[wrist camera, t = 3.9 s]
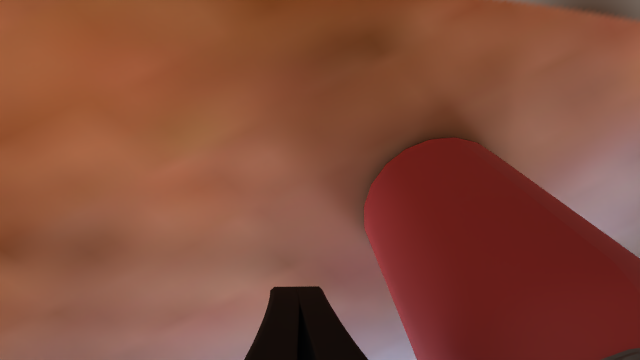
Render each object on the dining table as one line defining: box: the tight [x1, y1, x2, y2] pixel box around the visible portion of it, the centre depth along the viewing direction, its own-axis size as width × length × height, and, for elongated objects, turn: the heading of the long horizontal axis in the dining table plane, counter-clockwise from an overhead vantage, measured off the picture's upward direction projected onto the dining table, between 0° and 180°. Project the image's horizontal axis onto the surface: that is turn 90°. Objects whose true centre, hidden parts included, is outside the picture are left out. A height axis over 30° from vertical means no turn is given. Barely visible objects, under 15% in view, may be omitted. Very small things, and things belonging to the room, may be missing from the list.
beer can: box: [364, 137, 640, 360], centre depth 14 cm, size 7×7×12 cm
